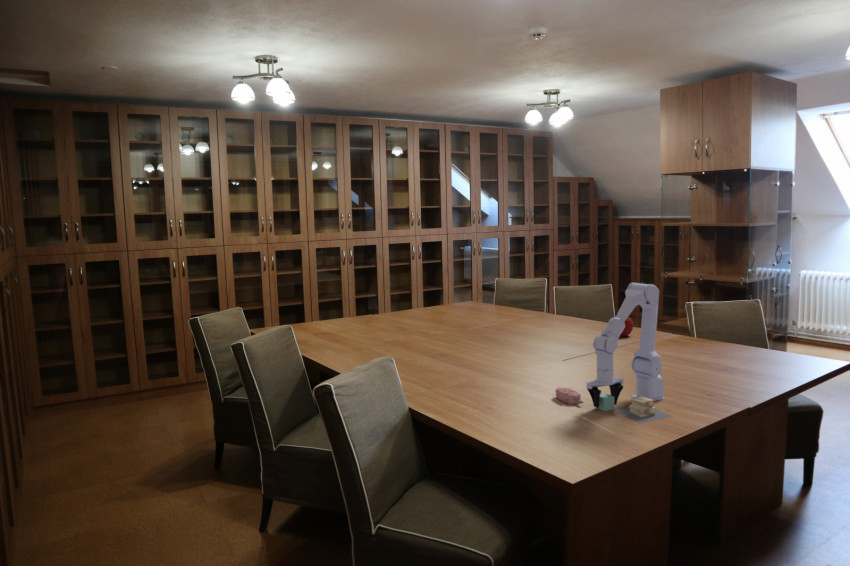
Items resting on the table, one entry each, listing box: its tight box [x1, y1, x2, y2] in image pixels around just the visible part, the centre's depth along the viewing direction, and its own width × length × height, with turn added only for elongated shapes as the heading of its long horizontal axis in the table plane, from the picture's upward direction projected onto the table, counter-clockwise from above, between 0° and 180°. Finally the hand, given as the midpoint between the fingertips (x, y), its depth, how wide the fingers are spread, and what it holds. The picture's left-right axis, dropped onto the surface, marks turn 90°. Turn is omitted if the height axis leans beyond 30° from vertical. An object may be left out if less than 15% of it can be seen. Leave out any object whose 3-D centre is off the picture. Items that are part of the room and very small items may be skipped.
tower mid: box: [631, 396, 654, 410], centre depth 206 cm, size 5×5×2 cm
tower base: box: [629, 404, 656, 417], centre depth 206 cm, size 6×6×2 cm
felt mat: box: [612, 406, 673, 424], centre depth 206 cm, size 14×14×1 cm
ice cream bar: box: [555, 387, 584, 405], centre depth 223 cm, size 6×4×15 cm
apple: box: [619, 316, 635, 337], centre depth 333 cm, size 11×11×12 cm
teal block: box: [597, 393, 615, 412], centre depth 213 cm, size 4×4×5 cm
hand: (605, 405), depth 213 cm, fingers open, 7 cm apart
